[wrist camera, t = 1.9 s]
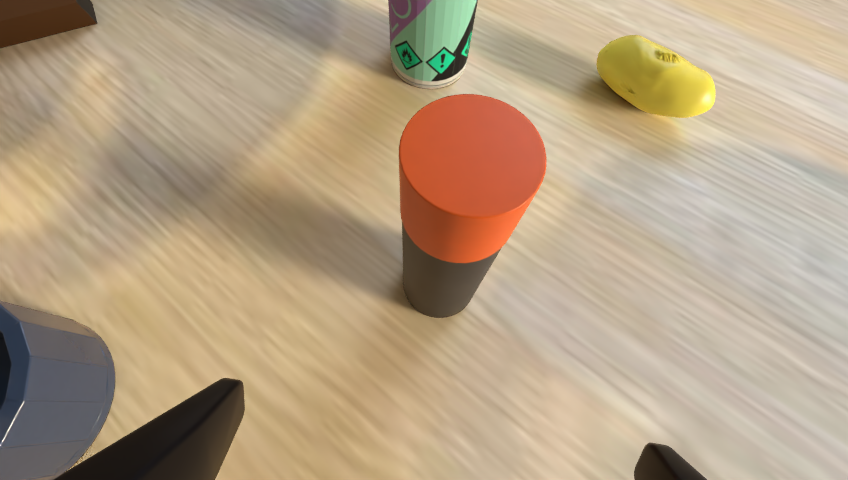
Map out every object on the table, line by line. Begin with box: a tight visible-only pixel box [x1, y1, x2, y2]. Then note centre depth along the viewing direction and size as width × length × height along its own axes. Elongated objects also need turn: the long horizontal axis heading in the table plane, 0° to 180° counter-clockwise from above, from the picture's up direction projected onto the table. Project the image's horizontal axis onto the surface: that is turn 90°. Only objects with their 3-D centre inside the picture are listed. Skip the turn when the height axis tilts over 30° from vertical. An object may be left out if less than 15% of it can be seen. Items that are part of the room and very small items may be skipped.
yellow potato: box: [597, 35, 715, 118], centre depth 27 cm, size 4×8×4 cm, turn 48°
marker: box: [399, 94, 546, 318], centre depth 17 cm, size 4×4×12 cm
